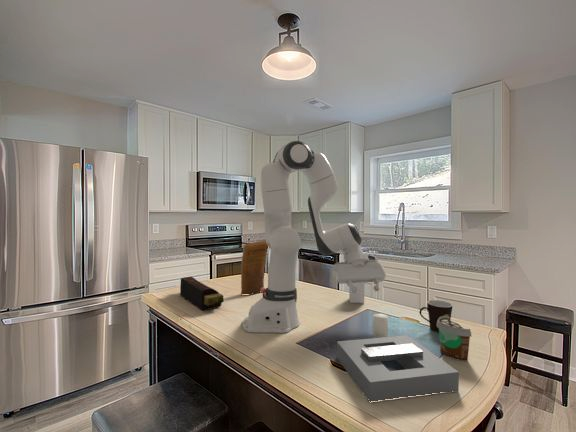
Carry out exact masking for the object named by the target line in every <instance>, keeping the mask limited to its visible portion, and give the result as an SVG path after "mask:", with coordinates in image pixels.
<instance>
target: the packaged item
mask: <svg viewBox="0 0 576 432" xmlns="http://www.w3.org/2000/svg"><path fill="white" fill-rule="evenodd" d="M179 292H180V297H182V298H183V299H185V300H186V301H187V302H188V303H190V304H192V305H193V306H195V307H196V308H198V309H199V310H201V311H207V310H211V309H212V310H213V309H216V308H220V307H221V306H222V303H224V302H225V300H224V299H225V298H224V295H223V294H222V293H219V291H218V290H217V289H214V288H212V287H210V286H208V285H206V284H204V283H203V282H201V281H199V280H197V279H196V278H194V277H193V276H188V277H187V276H186V277H181V278H180V290H179Z"/></svg>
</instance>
